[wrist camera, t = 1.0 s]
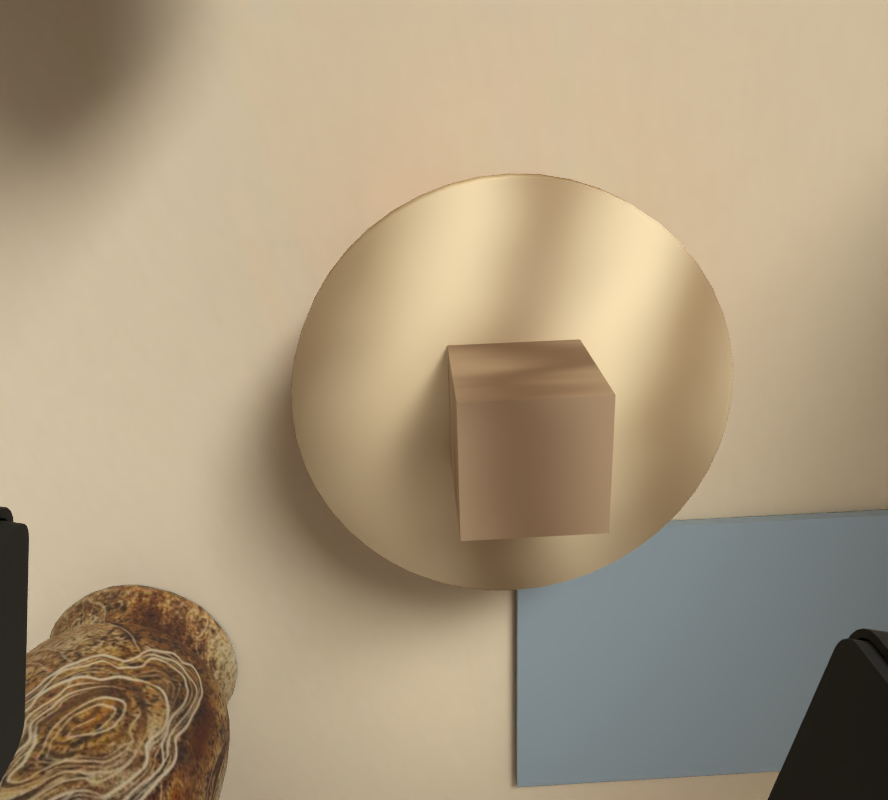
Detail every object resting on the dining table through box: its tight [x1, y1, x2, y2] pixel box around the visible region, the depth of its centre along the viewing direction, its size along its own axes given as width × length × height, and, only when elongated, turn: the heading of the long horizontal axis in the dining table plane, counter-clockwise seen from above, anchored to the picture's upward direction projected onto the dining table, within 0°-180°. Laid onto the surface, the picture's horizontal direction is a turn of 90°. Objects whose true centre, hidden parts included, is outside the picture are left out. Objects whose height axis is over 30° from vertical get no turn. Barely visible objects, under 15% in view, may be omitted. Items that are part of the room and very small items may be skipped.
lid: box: [291, 174, 733, 590], centre depth 28 cm, size 15×15×7 cm
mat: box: [516, 510, 888, 787], centre depth 42 cm, size 18×15×1 cm
